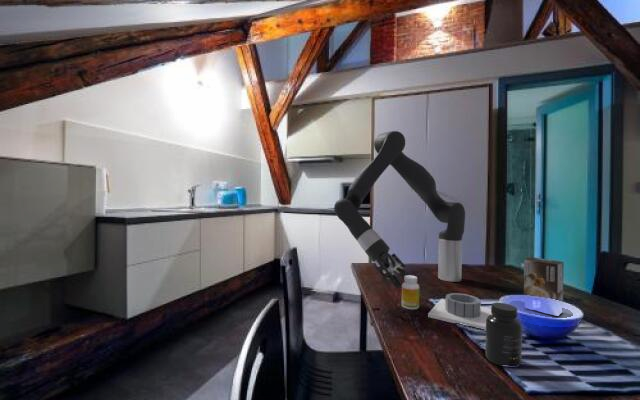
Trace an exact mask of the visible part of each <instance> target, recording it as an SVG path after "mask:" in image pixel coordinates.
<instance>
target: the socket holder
mask: <svg viewBox="0 0 640 400" xmlns="http://www.w3.org/2000/svg"><path fill="white" fill-rule="evenodd" d="M481 303H482V300H481V299H479V298H478V297H476V296H474V295H471V294H466V293H460V292H459V293H458V292H454V293H453V292H452V293H447V294H446V295H445V298H440V299H439V301H438V302H437V303H436V304H435V305H434V306H433V308H431V310H430V311H429V312H428V313H427V317H428V318H431V319H436V320H439V321H443V322H448V323H452V324H455V323H462V324H466V325H469V326H473V327H476V328H481V329H485V330H486V319H487V317H488V316H489V315H491V314H492V313H491V307H486V306H482V305H481ZM476 328H475V329H476ZM485 330H484V331H485Z"/></svg>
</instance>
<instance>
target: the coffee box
mask: <svg viewBox="0 0 640 400" xmlns="http://www.w3.org/2000/svg"><path fill="white" fill-rule="evenodd" d="M523 262H524V263H523V264H524V265H523V296H524V295H530V296H539V297H545V298H551V299H555V300H559V301H563V302H564V261H561V260H554V259H553V260H552V259H549V258H547V259H546V258H540V257H532V256H530V257H526V258H525V259H524V261H523Z"/></svg>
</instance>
